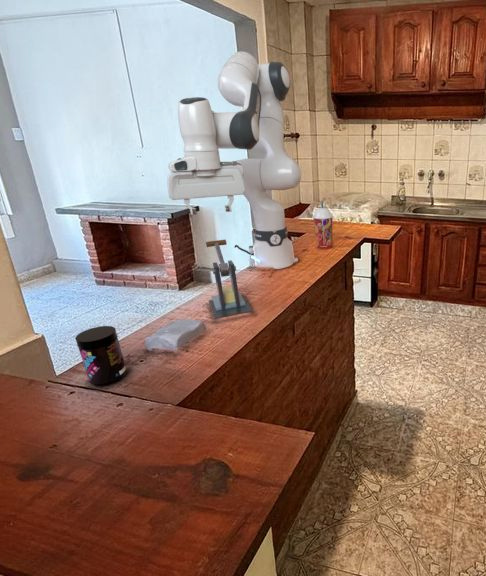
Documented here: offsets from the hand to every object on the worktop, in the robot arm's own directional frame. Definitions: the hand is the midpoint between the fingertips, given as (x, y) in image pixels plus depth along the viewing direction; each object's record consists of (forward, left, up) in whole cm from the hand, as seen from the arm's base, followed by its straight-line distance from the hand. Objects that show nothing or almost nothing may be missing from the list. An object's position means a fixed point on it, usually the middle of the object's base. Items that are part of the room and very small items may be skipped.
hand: (211, 213), depth 113 cm
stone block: (+24, -15, -26) cm, 38 cm away
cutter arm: (+5, 0, -13) cm, 14 cm away
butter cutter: (+11, 0, -26) cm, 28 cm away
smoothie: (-39, +48, -26) cm, 67 cm away
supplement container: (+35, -28, -26) cm, 52 cm away
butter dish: (+8, 0, -25) cm, 26 cm away
